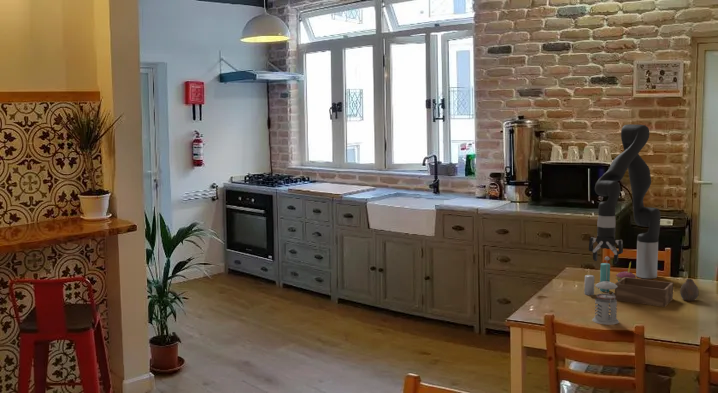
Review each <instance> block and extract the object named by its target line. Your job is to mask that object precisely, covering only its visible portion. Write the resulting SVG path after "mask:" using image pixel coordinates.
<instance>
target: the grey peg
mask: <svg viewBox="0 0 718 393" xmlns="http://www.w3.org/2000/svg"><path fill="white" fill-rule="evenodd" d="M583 294H584V295H586V296H594V295H595V275H592V274H586V275H584V293H583Z"/></svg>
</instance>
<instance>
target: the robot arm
mask: <svg viewBox="0 0 718 393" xmlns="http://www.w3.org/2000/svg"><path fill="white" fill-rule="evenodd" d="M620 138H621V142H622V146H623V151H622V152H621V153H619V155H617V156H616V157H615V158H614V159H613V161H611V163H610V165H609V167H608V169H607V171H606V172H604V173H603V174H602V176H600V177H599V178H598V180H597V181H596V182H595V186H594V191H595V193H596V195H598V196H600V197H608V198H607V200H605V201H600V202H599V203H598V213H597V214H598V217H597V222H596V223H597V224H596V225H597V228H596V229H597V230H596V237H595V236H591V237H589V242H588V251H589V252H592V259H593V262H597V261H598V251H599V250H600V249H605V250H609V249H610V250H611V252H612V253H613V264H617V263H618V262H619V255H622V254H623V253H624V244H623V242H624V241H623V239H616V227H617V226H616V223H617V222H616V207H617V206H616V205H617V204H618V203H617V202H618V199H619V196H620V193H621V185H620V183H619V181H621V180H623V178H624V176H625V174H626V172H628V179H629V184H630V188H631V196H632V208H633V209H632V210H633V211H632V212H633V219H634V222H635V224H636V226H639V227H646V228H648V230H647V231H646V232H642V233H639V234H637V237H636V270H635V272H636V273H635V276H636V278H637V277H638V278H639V279H646V280H652V279H657V277H658V263H659V262H658V261H659V260H658V259H659V257H658V256H659V255H658V254H659V239H660V238H659V237H660V231H661V230H660V229H661V218H662V217H661V211H660V209H658V208H656V207H647V206H645V205H644V197H645V196H646V195H647V192H648V191H649V189H650V187H651V184H652V177H651V170H650V167H649V166H648V164H647V162H646V161H645V160H644V159H643V158H642V156H640V152H641V151H642V149H643V148H644V147H645V146H646V144H647V142H648V141H649V138H650V129H649V127H648V126H647V125H645V124H624V125H623V126H622V127H621V131H620ZM627 170H628V171H627ZM594 243H597V245H596V246H595V248H594ZM615 244H616V245H617V246H618V249H617V247H616V246H615Z"/></svg>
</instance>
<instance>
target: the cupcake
mask: <svg viewBox="0 0 718 393" xmlns="http://www.w3.org/2000/svg"><path fill="white" fill-rule="evenodd" d="M631 265H632V261H630V262H629V265H628V269H627V271H619V272H618V273H616V274H615V279H616V280H617V282H618V281H620V280H621V279H622V278H624V277H629V278H637V276H636V274H634V273H633V272H630V270H631Z"/></svg>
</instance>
